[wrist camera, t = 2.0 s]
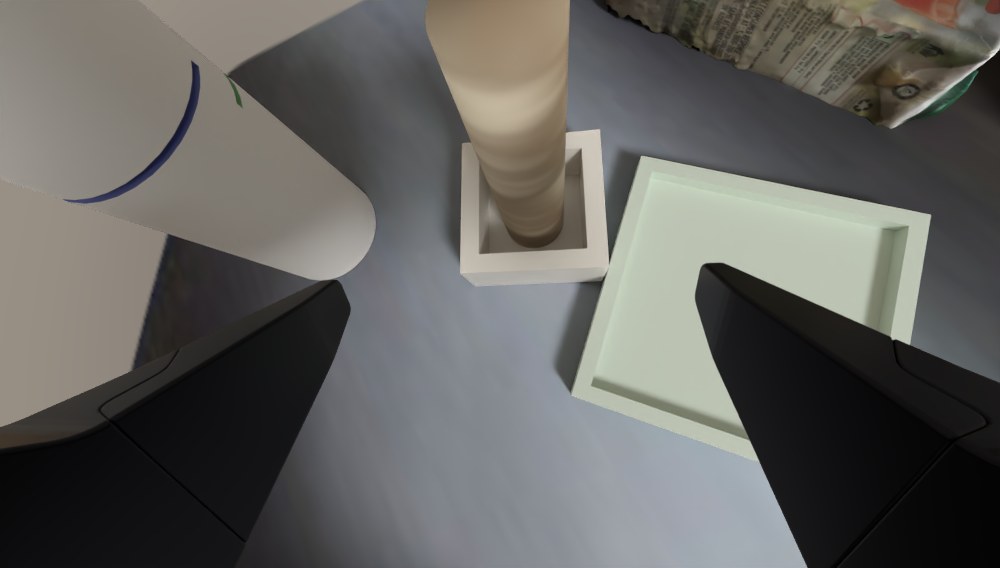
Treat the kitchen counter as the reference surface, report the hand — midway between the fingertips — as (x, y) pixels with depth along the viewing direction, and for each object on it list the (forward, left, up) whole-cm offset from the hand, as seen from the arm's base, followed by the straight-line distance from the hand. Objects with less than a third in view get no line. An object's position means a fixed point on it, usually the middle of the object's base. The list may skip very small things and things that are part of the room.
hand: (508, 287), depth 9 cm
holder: (+4, +5, -13) cm, 14 cm away
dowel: (+4, +5, -12) cm, 14 cm away
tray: (+9, -6, -13) cm, 17 cm away
